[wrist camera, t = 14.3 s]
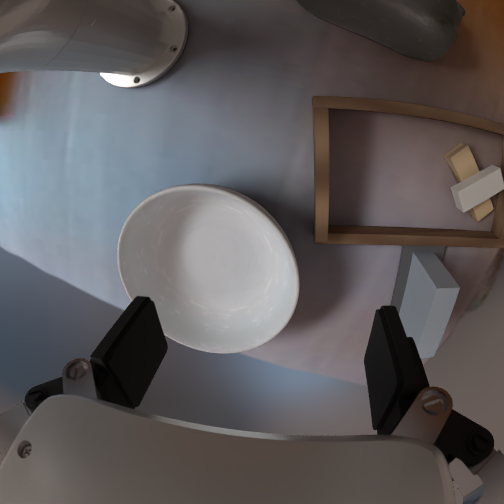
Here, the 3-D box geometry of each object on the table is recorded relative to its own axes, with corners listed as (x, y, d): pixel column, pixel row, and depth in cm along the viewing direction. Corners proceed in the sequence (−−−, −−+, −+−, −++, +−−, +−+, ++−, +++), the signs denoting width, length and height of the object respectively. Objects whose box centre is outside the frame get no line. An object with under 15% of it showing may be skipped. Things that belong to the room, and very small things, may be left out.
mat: (403, 239, 31) (404, 241, 31) (444, 240, 30) (446, 242, 30) (385, 323, 37) (386, 326, 36) (422, 322, 36) (423, 324, 35)
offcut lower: (442, 155, 26) (450, 158, 24) (458, 142, 25) (467, 145, 23) (469, 215, 29) (477, 221, 27) (485, 203, 27) (493, 209, 25)
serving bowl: (310, 179, 30) (313, 196, 24) (289, 328, 40) (286, 364, 34) (136, 169, 33) (104, 183, 27) (152, 306, 42) (133, 335, 36)
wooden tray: (311, 97, 26) (314, 94, 22) (509, 128, 22) (530, 132, 18) (313, 234, 33) (315, 252, 29) (494, 240, 29) (511, 255, 25)
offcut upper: (456, 207, 27) (463, 212, 25) (450, 187, 26) (457, 191, 24) (496, 184, 24) (504, 188, 22) (491, 164, 23) (500, 167, 22)
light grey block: (413, 252, 31) (436, 288, 24) (433, 252, 31) (460, 287, 24) (398, 317, 35) (412, 359, 28) (416, 316, 35) (433, 357, 28)
